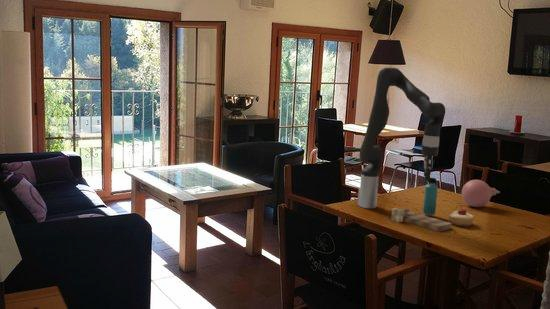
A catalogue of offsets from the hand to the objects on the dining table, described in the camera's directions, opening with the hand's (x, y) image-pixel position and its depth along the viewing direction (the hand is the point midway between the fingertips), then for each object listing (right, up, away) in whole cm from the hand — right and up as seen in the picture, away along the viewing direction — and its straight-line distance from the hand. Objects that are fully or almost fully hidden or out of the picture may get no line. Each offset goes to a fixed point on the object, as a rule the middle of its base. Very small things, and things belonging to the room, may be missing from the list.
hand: (426, 178), depth 252 cm
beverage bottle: (+7, -20, +20) cm, 29 cm away
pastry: (+19, -23, +8) cm, 31 cm away
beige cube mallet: (-10, -21, +10) cm, 25 cm away
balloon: (+42, -18, +43) cm, 63 cm away
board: (0, -22, +7) cm, 23 cm away
